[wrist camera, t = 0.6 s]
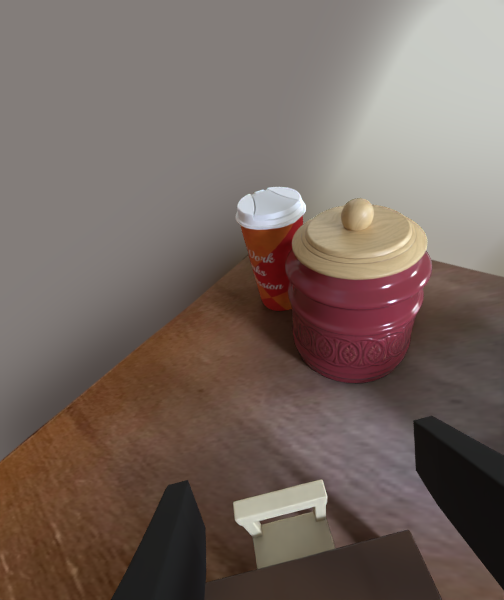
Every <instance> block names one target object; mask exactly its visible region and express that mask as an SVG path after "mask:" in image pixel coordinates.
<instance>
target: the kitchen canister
mask: <svg viewBox="0 0 504 600" xmlns="http://www.w3.org/2000/svg"><path fill="white" fill-rule="evenodd" d="M426 248H427V237H426V234H425V232H424V231H423V230H422V228H421V227H420V226H419V225H418V224H417V223H415V222H414V221H412V220H411V219H409V218H407V217H405V216H403V215H402V214H401V213H399V212H397V211H395V210H393V209H390V208H387V207H383V206H377V205H371V203H370V202H369V201H367V200H365V199H361V198H357V199H353V200H350V201H349V202H347V203H346V204H345V205H344V206H339V207H335V208H331V209H329V210H326V211H324V212H322V213H320V214H318V215H317V216H315V217H314V218H312V219H310V220H309V221H307V222H306V223H304V224H303V225H302V226H301V227H300V228H299V229H298V230H297V231H296V233H295V234H294V236H293V240H292V249H291V250H290V252H289V253H288V255H287V258H286V262H285V270H286V274H287V277H288V279H289V280H290V282H289V286H288V296H289V300H290V303H291V307H292V316H293V325H292V331H293V338H294V342H295V345H296V347H297V349H298V351H299V353H300V355H301V357H302V358H303V360H304V361H305V362H306V363H307V364H308V365H309V366H310V367H311V368H312V369H313V370H315V371H316V372H318V373H319V374H321V375H323V376H325V377H327V378H330V379H333V380H336V381H340V382H346V383H364V382H370V381H374V380H377V379H380V378H382V377H384V376H386V375H388V374H389V373H391V372H392V371H393V370H394V369H395V368H396V367H397V366H398V365H399V363H400V362H401V361H402V360H403V358H404V357H405V355H406V353H407V351H408V347H409V345H410V341H411V331H412V328H413V324H414V321H415V318H416V314H417V313H418V311H419V310H420V308H421V306H422V303H423V297H424V293H423V287H424V286H425V285H426V284H427V282H428V280H429V278H430V276H431V273H432V262H431V258H430V256H429V254H428V252H427V251H426Z"/></svg>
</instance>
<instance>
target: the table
mask: <svg viewBox="0 0 504 600" xmlns="http://www.w3.org/2000/svg"><path fill="white" fill-rule="evenodd" d="M204 600H442V599H441V596H440V594H439V592H438V590H437V588H436V586H435V584H434V581H433V579H432V577H431V575H430V573H429V571H428V569H427V567H426V564H425V562H424V560H423V558H422V556H421V554H420V552H419V549H418V547H417V545H416V543H415V541H414V539H413V537H412V534H411V532H410V531H409V530H405V531H401V532H397V533H393V534H389V535H386V536H382V537H378V538H374V539H370V540H366V541H363V542H359V543H355V544H351V545H347V546H344V547H340V548H336V549H332V550H328V551H325V552H321V553H317V554H313V555H309V556H305V557H302V558H298V559H294V560H290V561H286V562H283V563H279V564H275V565H271V566H267V567H263V568H260V569H256V570H252V571H248V572H244V573H241V574H237V575H233V576H229V577H225V578H222V579H218V580H214V581H210V582H206V583H205V598H204Z"/></svg>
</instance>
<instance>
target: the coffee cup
mask: <svg viewBox="0 0 504 600" xmlns="http://www.w3.org/2000/svg"><path fill="white" fill-rule="evenodd" d="M237 209H238V210H237V214H236V221H237V223H238V224H239V225H241V229H242V233H243V236H244V240H245V243H246V247H247V251H248V254H249V258H250V261H251V265H252V268H253V272H254V276H255V279H256V283H257V286H258V289H259V293H260V296H261V299H262V302H263V304H264V305H265V306H266V307H267V308H269V309H271V310H275V311H285V310H289V309H292V307H291V303H290V300H289V296H288V286H289V282H290V280H289V279H288V277H287V274H286V270H285V262H286V258H287V255H288V253H289V252H290V250H291V249H292V240H293V236H294V234H295V233H296V231H297V230H298V229H299V228H300V227H301V226H302V225H303V214H304V213H305V211H306V205H305V204H304V202H303V201H302V199H301V195H300V194H299V192H298V191H296V190H294V189H291V188H287V187H271V188H267V190H265V191H264V190H260V191H257V192H254V194H252V195H250V194H248V195H246V196H245V197H244V198H242V199H241V200H240V201H239V203H238V206H237Z"/></svg>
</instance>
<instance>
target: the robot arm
mask: <svg viewBox="0 0 504 600" xmlns="http://www.w3.org/2000/svg"><path fill="white" fill-rule="evenodd" d="M413 422H414V441H415V460H416V471H417V473H418V474H419V476H420V478H421V479H422V481H423V482H424V484H425V486H426V487H427V489H428V491H429V492H430V494H431V495H432V497H433V498H434V500H435V501H436V503H437V504H438V506H439V507H440V509H441V510H442V511H443V513H444V514H445V515H446V517H447V518H448V519H449V520H450V522H451V523H452V524H453V526H454V527H455V528H456V529H457V531H458V532H459V533H460V535H461V536H462V537H463V539H464V540H465V541H466V542H467V544H468V545H469V546H470V548H471V549H472V550H473V551H474V553H475V554H476V555H477V557H478V558H479V559H480V560H481V562H482V563H483V564H484V565H485V567H486V568H487V569H488V571H489V572H490V573H491V574H492V576H493V577H494V578H495V580H496V581H497V582H498V583H499V585H500V586H501V587H502V589H503V590H504V455H502V454H500V453H498V452H496V451H494V450H493V449H491V448H489V447H487V446H485V445H484V444H482V443H480V442H478V441H476V440H475V439H473V438H471V437H469V436H467V435H466V434H464V433H462V432H460V431H458V430H457V429H455V428H453V427H451V426H450V425H448V424H446V423H444V422H442V421H441V420H439V419H437V418H435V417H433V416H429V417H426V418H422V419H418V420H414V421H413ZM205 583H206V533H205V525H204V522H203V520H202V517H201V514H200V512H199V509H198V506H197V503H196V501H195V498H194V495H193V492H192V490H191V487H190V484H189V482H188V480H186V481H182V482H179V483H175V484H171V485H168V486H167V488H166V489H165V492H164V494H163V496H162V498H161V500H160V502H159V505H158V507H157V509H156V511H155V513H154V515H153V518H152V520H151V522H150V524H149V526H148V528H147V530H146V532H145V534H144V536H143V538H142V541H141V543H140V545H139V547H138V549H137V551H136V553H135V554H134V556H133V558H132V560H131V562H130V564H129V566H128V568H127V570H126V572H125V574H124V576H123V578H122V580H121V582H120V584H119V586H118V588H117V589H116V591H115V593H114V595H113V597H112V599H111V600H204V598H205Z"/></svg>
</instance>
